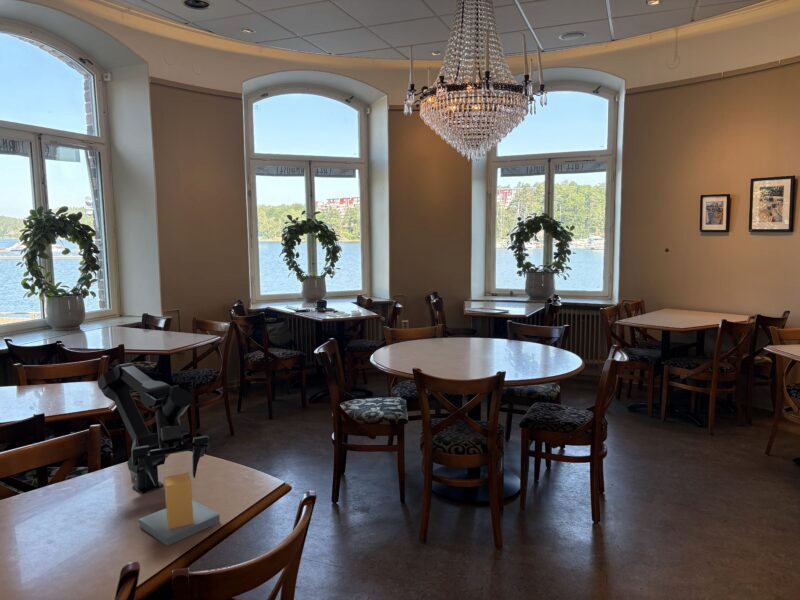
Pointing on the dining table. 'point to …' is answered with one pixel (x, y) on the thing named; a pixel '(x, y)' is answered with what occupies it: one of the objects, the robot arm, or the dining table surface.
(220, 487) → the dining table surface
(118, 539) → the dining table surface
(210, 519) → the terminal board
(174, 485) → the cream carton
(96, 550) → the dining table surface
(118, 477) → the dining table surface
